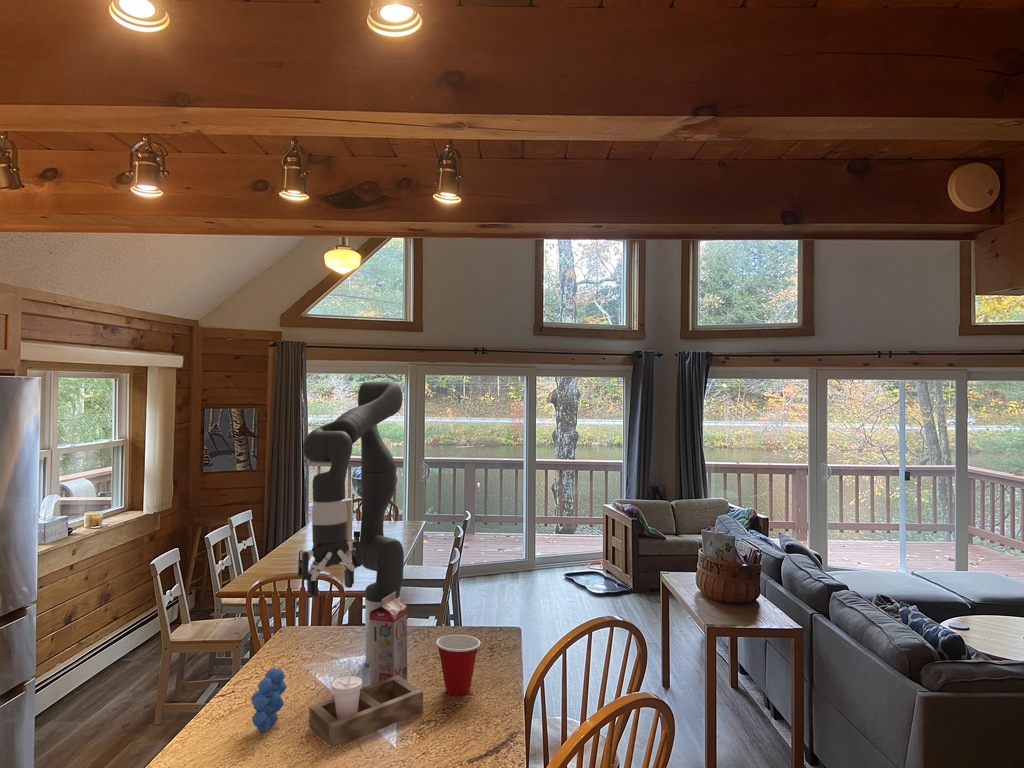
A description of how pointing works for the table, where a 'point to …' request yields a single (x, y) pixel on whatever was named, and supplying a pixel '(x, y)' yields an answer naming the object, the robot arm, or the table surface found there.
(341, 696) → the smoothie
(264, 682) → the grapes
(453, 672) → the plastic cup
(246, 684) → the table surface
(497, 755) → the table surface
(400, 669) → the juice carton
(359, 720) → the slot rack
